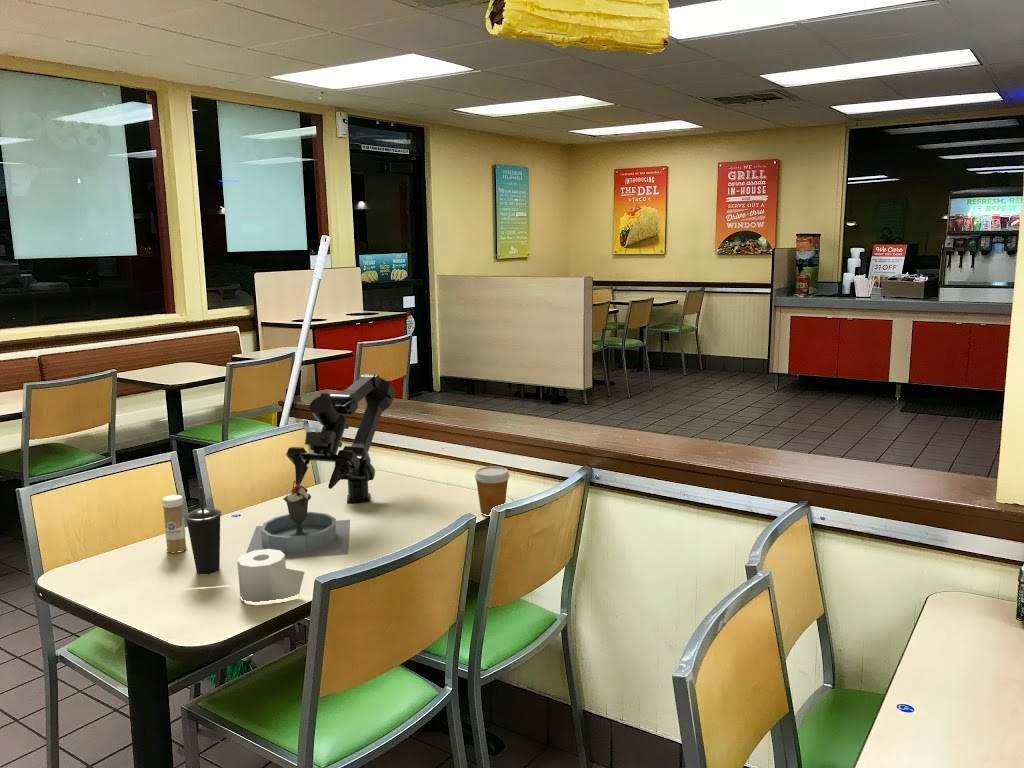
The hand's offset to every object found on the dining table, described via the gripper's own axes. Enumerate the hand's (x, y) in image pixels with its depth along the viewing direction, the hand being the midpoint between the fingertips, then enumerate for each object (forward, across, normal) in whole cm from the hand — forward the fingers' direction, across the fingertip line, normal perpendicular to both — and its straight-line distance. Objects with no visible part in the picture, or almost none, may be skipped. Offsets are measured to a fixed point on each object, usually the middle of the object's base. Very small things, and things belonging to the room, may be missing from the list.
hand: (313, 486), depth 204 cm
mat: (+14, 0, +2) cm, 14 cm away
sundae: (+13, 0, +2) cm, 13 cm away
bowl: (+14, 0, +2) cm, 14 cm away
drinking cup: (+29, -11, -13) cm, 34 cm away
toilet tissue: (+35, +10, -18) cm, 41 cm away
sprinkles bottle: (+23, -26, -6) cm, 35 cm away
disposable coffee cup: (-7, +41, +24) cm, 48 cm away
